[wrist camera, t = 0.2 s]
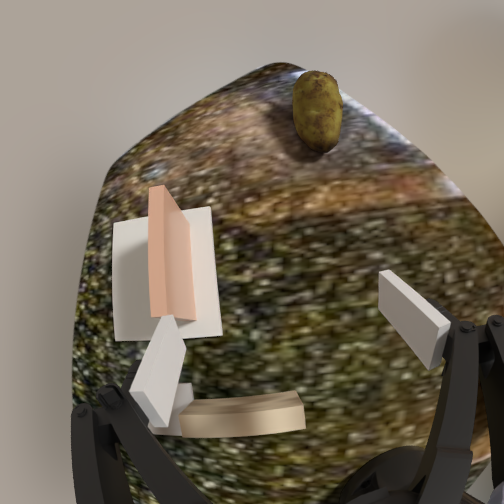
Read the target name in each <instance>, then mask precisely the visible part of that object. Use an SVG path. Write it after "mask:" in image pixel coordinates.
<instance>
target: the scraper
mask: <svg viewBox="0 0 504 504" xmlns="http://www.w3.org/2000/svg"><path fill="white" fill-rule="evenodd" d="M148 428H149V429H150V430H151V432H152V433H153V434H159V435H178V436H182V437H183V438H221V437H241V436H253V435H264V434H272V433H280V432H287V431H294V430H300V429H305V428H306V426H305V416H304V407H303V404H302V402H301V400H300V398H299V396H298V394H297V392H296V390H295V391H288V392H282V393H274V394H267V395H258V396H248V397H237V398H223V399H202V400H194V396H193V390H192V383H178V385H177V389H176V393H175V398H174V402H173V406H172V411H171V415H170V420H169V424H168V427H154V426H153V425H152V424H151V422H150V421H149V423H148Z"/></svg>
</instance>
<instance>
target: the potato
mask: <svg viewBox="0 0 504 504" xmlns="http://www.w3.org/2000/svg"><path fill="white" fill-rule="evenodd" d="M292 104H293V120H294V124H295V128H296V131H297V133H298V135H299V136H300V138H301V139H302V140H303V142H304V143H305V144H307V145H308V146H309V147H310V148H311V149H312V150H314V151H317V152H322V153H327V152H329V151H330V150H332V149H333V148H334V147H335V146H336V145H337V143H338V142H339V141H338V139H339V135H340V129H341V121H342V109H343V101H342V98H341V95H340V94H339V89H338V84H337V81H336V80H335V79H334V77H332V76H331V75H330V74H327V73H324V72H319V71H308V72H305V73H303V74H302V75H301V76H300V77H299V78H298V80H297V81H296V83H295V85H294V88H293V100H292Z"/></svg>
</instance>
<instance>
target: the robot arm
mask: <svg viewBox="0 0 504 504" xmlns="http://www.w3.org/2000/svg"><path fill="white" fill-rule="evenodd" d="M378 309H379V310H380V311H381V313H382V314H383V315H384V316H385V317H386V318H387V320H388V321H389V322H390V323H391V324H392V326H393V327H394V328H395V329H396V330H397V332H398V333H399V334H400V335H401V336H402V338H403V339H404V340H405V341H406V343H407V344H408V345H409V346H410V348H411V349H412V350H413V351H414V353H415V354H416V355H417V356H418V358H419V359H420V360H421V362H422V363H423V364H424V365H425V367H426V368H427V369H428V371H429V370H431V369H433V368H435V367H437V366H439V365H440V363H441V359H442V357H443V358H444V359H445V360H446V363H445V366H444V369H443V372H442V375H441V376H443V379H442V385H441V390H440V395H439V400H438V404H437V409H436V413H435V417H434V421H433V425H432V428H431V432H430V435H429V439H428V442H427V445H426V448H425V449H424V448H422V447H419V446H403V447H399V448H395V449H392V450H390V451H387V452H385V453H383V454H381V455H379V456H378V457H376V458H374V459H373V460H371V461H370V462H368V463H367V464H366V465H364V466H363V467H362V468H361V469H360V470H359V471H357V472H356V473H355V474H354V476H353V477H352V478H351V479H350V480H349V481H348V483H347V484H346V486H345V487H344V489H343V491H342V493H341V496H340V501H339V504H485V503H483V502H481V501H480V500H478V499H476V498H474V497H473V496H471V495H469V494H468V493H466V492H465V491H464V489H465V485H466V482H467V478H468V475H469V471H470V467H471V462H472V457H473V452H472V451H470V444H471V439H472V433H473V427H474V420H475V412H476V403H477V390H478V374H479V378H480V382H481V387H482V391H483V396H484V402H485V407H486V413H487V420H488V427H489V436H490V447H491V465H492V480H493V486H494V491H493V492H492V494H491V497H490V500H489V501H488V504H504V318H503V317H502V316H499V315H492V316H490V317H489V318H488V320H487V323H486V325H482V326H476V325H475V324H474V323H472V322H469V321H461V322H460V321H459V320H458V319H457V318H456V317H454V316H453V315H452V314H451V313H450V312H449V311H448V310H446V309H445V308H444V307H442V305H441V304H439V303H438V302H437V301H435V300H432V299H430V298H429V299H426V300H425V299H424V298H423V297H422V296H420V295H419V294H418V293H417V292H416V291H414V290H413V289H412V288H411V287H410V286H409V285H407V284H406V283H405V282H404V281H402V280H401V279H400V278H399V277H398V276H396V275H395V274H394V273H393V272H391V271H390V270H385V271H381V272H379V304H378ZM185 352H186V347H185V344H184V342H183V339H182V337H181V334H180V332H179V329H178V327H177V324H176V321H175V319H174V316H173V314H172V315H166V316H162V317H161V319H160V321H159V323H158V325H157V328H156V330H155V332H154V334H153V336H152V339H151V341H150V343H149V345H148V348H147V350H146V352H145V355H144V357H143V359H142V360H136V361H135V362H134V363H133V364H132V365H131V366H130V369H129V371H128V374H127V375H126V377H125V378H126V379H125V380H124V382H123V384H122V386H121V389H120V387H119V386H118V385H117V384H114V383H109V384H106V385H104V386H102V387H101V388H100V389H99V390H98V391H97V393H96V399H97V400H98V401H99V403H100V404H101V405H102V407H101V408H97V409H93V408H92V407H91V406H90V405H89V404H87V403H82V404H79V405H77V406H76V407H75V408H74V409H73V411H72V414H71V449H72V450H71V451H72V469H73V479H74V488H75V496H76V503H77V504H134V502H133V499H132V496H131V493H130V489H129V486H128V482H127V478H126V475H125V471H124V467H123V462H122V458H121V453H120V449H119V444H118V443H119V442H121V443H122V445H123V447H124V448H125V450H126V452H127V454H128V455H129V457H130V459H131V461H132V462H133V464H134V466H135V467H136V469H137V470H138V472H139V474H140V475H141V477H142V478H143V480H144V481H145V483H146V484H147V486H148V487H149V489H150V490H151V491H152V493H153V494H154V496H155V497H156V498H157V500H158V501H159V502H160V504H213V503H212V502H211V501H210V500H209V499H208V498H207V497H206V496H205V495H204V494H203V493H202V492H201V491H200V490H199V489H198V488H197V487H196V486H195V485H194V484H193V483H192V482H191V480H190V479H189V478H188V477H187V476H186V475H185V474H184V473H183V471H182V470H181V469H180V468H179V467H178V465H177V464H176V463H175V462H174V461H173V459H172V458H171V457H170V456H169V454H168V453H167V452H166V451H165V449H164V448H163V447H162V445H161V444H160V443H159V441H158V440H157V439H156V437H155V436H154V435H153V433H152V432H151V430H150V429H149V428H148V423H149V421H150V422H151V424H152V425H153V426H154V427H168V424H169V420H170V415H171V411H172V406H173V402H174V398H175V393H176V389H177V385H178V381H179V376H180V372H181V368H182V364H183V360H184V356H185Z"/></svg>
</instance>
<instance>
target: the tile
mask: <svg viewBox="0 0 504 504" xmlns="http://www.w3.org/2000/svg"><path fill="white" fill-rule="evenodd" d="M148 271H149V294H150V310H151V317H152V318H159V319H161V317H162V316H166V315H172V314H173V316H174V319H175V320H176V321H196V320H197V318H196V308H195V297H194V285H193V272H192V257H191V240H190V223H189V222H188V220H187V219H186V217H185V216H184V215H183V213H182V211H181V210H180V208H179V207H178V205H177V204H176V202H175V201H174V199H173V198H172V196H171V195H170V193H169V192H168V190H167V189H166V187H165V186H164V185H160V186H155V187H151V188H149V211H148Z"/></svg>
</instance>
